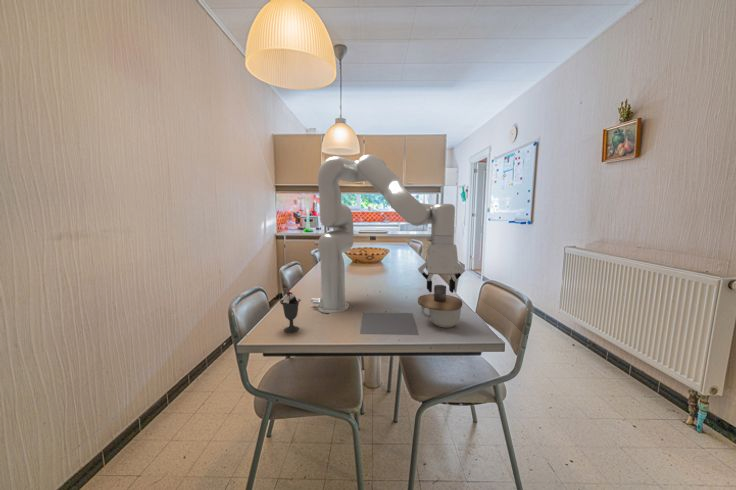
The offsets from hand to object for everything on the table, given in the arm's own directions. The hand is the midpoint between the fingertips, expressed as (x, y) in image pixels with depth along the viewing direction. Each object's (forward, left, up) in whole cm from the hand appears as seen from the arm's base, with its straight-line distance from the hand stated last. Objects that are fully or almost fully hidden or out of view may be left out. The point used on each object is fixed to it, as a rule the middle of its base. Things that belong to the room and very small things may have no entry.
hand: (440, 291), depth 100 cm
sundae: (-51, -6, -12) cm, 53 cm away
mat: (-18, 0, -12) cm, 22 cm away
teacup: (0, 0, -12) cm, 12 cm away
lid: (0, 0, -4) cm, 4 cm away
